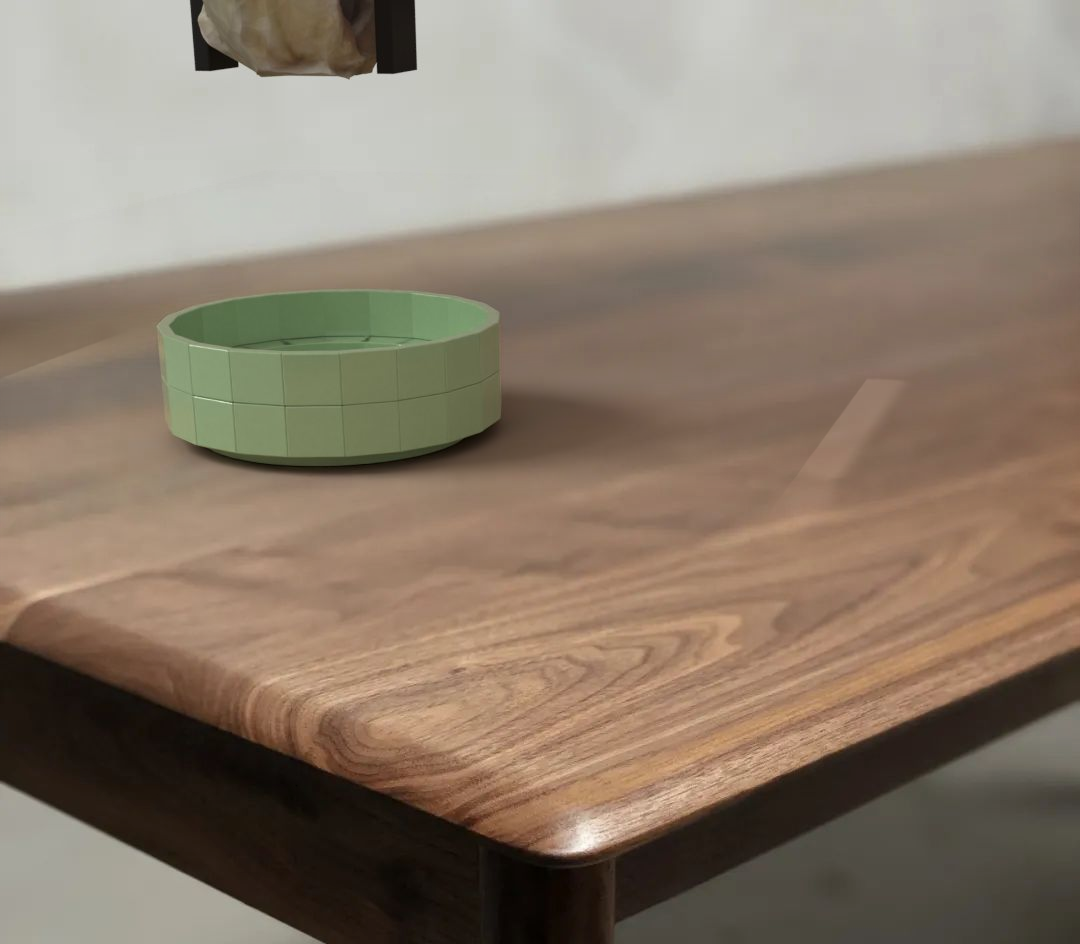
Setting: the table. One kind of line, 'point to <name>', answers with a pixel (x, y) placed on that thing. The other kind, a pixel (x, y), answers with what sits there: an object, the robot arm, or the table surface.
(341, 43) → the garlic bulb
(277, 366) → the bowl
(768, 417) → the table surface
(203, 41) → the robot arm
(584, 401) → the table surface
